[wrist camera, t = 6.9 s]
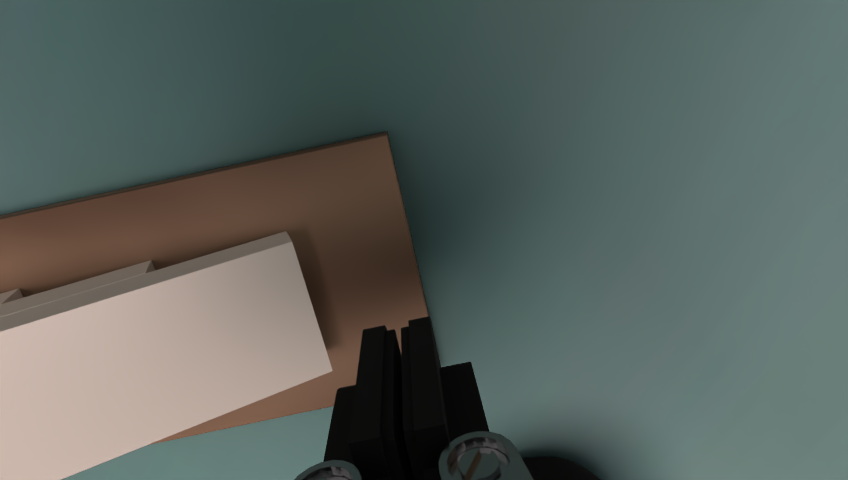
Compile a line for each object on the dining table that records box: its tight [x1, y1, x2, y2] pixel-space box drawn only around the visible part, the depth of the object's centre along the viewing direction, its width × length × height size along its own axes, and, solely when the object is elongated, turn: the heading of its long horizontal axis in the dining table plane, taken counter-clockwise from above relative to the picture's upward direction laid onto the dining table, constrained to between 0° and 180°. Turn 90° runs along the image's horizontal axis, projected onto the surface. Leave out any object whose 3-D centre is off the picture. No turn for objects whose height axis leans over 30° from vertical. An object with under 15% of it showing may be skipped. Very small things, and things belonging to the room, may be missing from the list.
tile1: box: [0, 231, 333, 480], centre depth 16 cm, size 2×5×10 cm
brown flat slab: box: [0, 132, 429, 445], centre depth 19 cm, size 10×26×1 cm, turn 102°
